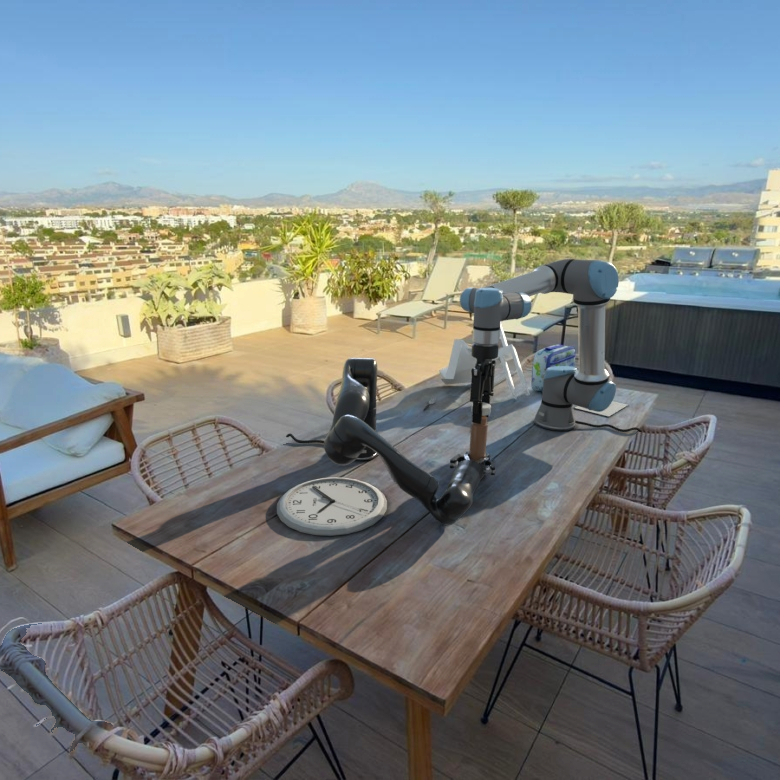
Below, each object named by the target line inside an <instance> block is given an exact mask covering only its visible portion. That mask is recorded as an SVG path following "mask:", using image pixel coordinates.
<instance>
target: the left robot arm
mask: <svg viewBox="0 0 780 780" xmlns="http://www.w3.org/2000/svg"><path fill="white" fill-rule="evenodd" d="M378 369H379V368H378V362H377V360H376V359H375V358H371V357H370V358H369V357H350V358H347V359H346V360H345V362H344V363H343V366H342V373H341V384H340V387H339V390H338V394H337V396H336V401H335V406H334V412H333V416H332V420H331V425H330V428H329V430H328V432H327V435H326V436H325V438H324V440H323V439H310V440H309V439H308V440H307V439H305V440H303V439H298V438H296V437H295V436H294V435H293V433H287V434H286V436H285V437H286V438H291V439H292V440H293V441H294V442H296V443H298V444H315V443H316V444H317V443H318V444H323V449H324V453H325V454H326V456H327V458H329V460H330V461H331V462H332V463H334V464H336V465H339V466H348V465H351V464H353V463H354V462H355V461H358V462H365V461H371V460H373V459H375V458H376V457H377V455H378V457H380V459H381V461H382V462H383V464H384V466H385V468H386V470H387V472H388V474H389V476H390V478H391V480H392V481H393V483H394V484H395V485H396V486H397V488H399V490H401V491H403V492H405V493H406V494H408V495H409V496H411V497H412V498H414V499H415V500H417V501H418V502H419V503H420V504H421V505H422V506H423V507H424V508H425V509H426V510H427V511H428V512H429V514H430V515H431V516H432V517H433V518H434V519H435V520H436V522H438V523H440V524H441V525H446V526H451V525H454V524H455V523H456V522H457V521H459V519H460V518H462V516H464V515H465V514H466V512H467V511H468V510H469V509H470V508H471V507H472V505H473V502H474V496H473V495H474V493H475V491H476V490H477V489H478V487H479V485H480V482H481V480H482V479H483V478H482V476H483V475H484V476H485V475H486V473H487V474H490V476H496V461H495V459H493V458H491V457H492V456H491V454H490V453H488V452H486V453H485V457H484V459H482V458H481V459H480V460H478V461H474V460H470V459H469V451H470V449H468V450H467V451H465V453H464V454H463V455H462V453H457V454H456V455H454V456H453V457H452V458H451V459H449V469H454V468H456V469H455V470H454V471H453V473H452V475H451V479H450V480H449V482H448V483H447V486H446V490H445V491H444V492H443V493H442V495H441V496H439V498H438V497H437V496H436V493H437V492H438V488H439V481H438V479H437V478H436V477H434V476H433V474H432V475H431V474H430V473H429V472H427V471H425V470H424V469H423V468H421V467H419V466H418V465H416V464H415V463H413V462H412V461H411V460H409V459H408V458H407V457H406V456H405V455H403V454H402V452H399V450H398V449H397V448H395V447H394V446H393V445H392V444H391V443H390V442H388V441H387V440H386V439H385V438H384V437H383V436H382V435H381V434H379V433H378V432H377V386H378ZM481 478H482V479H481Z"/></svg>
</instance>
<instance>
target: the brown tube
mask: <svg viewBox="0 0 780 780" xmlns="http://www.w3.org/2000/svg"><path fill="white" fill-rule="evenodd" d="M487 420H488V418H487V417H486V416H482V422H481V424H477V423H473V422H472V421H471V423H470V438H469V450H470V451H469V450H468V451H469V459H470V460H474V461H478V460H480V459H481V458H482V459H484V457H485V455H486V453H487V451H486V450H487V441H488V440H487V439H488V426H489V423H488V422H487ZM484 477H485V474H484V475H483V476H482V478H481V480H482V479H483V478H484Z"/></svg>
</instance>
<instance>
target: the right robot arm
mask: <svg viewBox="0 0 780 780" xmlns="http://www.w3.org/2000/svg"><path fill="white" fill-rule="evenodd" d="M619 281H620V278H619V272H618V270H617V268H616V266H615V265H613V263H611V262H610V261H607V260H606V261H605V260H601V259H579V258H564V259H559V260H556V261H552V262H548V263H545V264H543V265H539V266H537V267H536V268H534V270H533V271H531V272H527V273H524V274H521V275H518V276H515V277H512V278H508V279H505V280H502V281H499V282H496V283H493V284H490V285H486V286H483V287H479V288H477V287H467V288H465V289H464V290H463V291H462V293H461V294H460V297H459V300H460V301H459V302H460V303H459V305H460V307H461V308H462V309H463V310H464V311H465V312H467V313H471V314H473V323H472V324H473V325H472V330H471V334H472V344H471V347H472V356H473V357H474V358H476V359H477V362H476V365H475V369H473V368H472V370H471V373H472V380H471V382H470V395H469V402H470V403H472V404H473V411H472V412H471V422H473V423H477V424H481V422H482V407H483V402H484V403H488V404H490V405H491V397H493V396H494V394H495V393H494V389H495V388H494V387H495V386H494V385H495V371H496V369H495V363H496V360H492V359H495V358H497V357H498V349H500V348H499V347H500V346H499V344H500V322H501V323H502V322H503V321H512V320H520V319H523V318H525V317H528V315H529V314H530V312H531V310H532V300H531V298H530V297H532V296H536V295H538V294H542V295H543V294H544V295H547V294H550V293H561V294H568V295H572V303H573V304H574V305H575V306H576V307H577V319H578V320H577V327H578V328H577V331H578V333H577V335H578V337H577V338H578V339H577V340H578V345H577V346H578V368H577V367H576V366H574V367H571V366H554V367H549V368H547V369H546V371H545V375H544V378H543V379H544V382H543V391H541V393H542V394H541V402H540V405H539V407H538V410H537V411H536V413H535V417H534V424H535V425H536V426H537V427H539V428H542V429H544V430H549V431H556V432H567V431H572V430H574V429H575V428H576V424H578V425H582V426H588V427H591V428H605V427H607V428H611V429H613V430H615V431H618V432H621V433H628V432H631V431H637V432H639V433H643V430H642V429H641V428H639V427H637V426H634V427H633V426H632V427H630V428H625V429H622V428H619V427H617V426H614V425H612V424H610V423H609V424H608V423H601V424H593V423H589V422H585V421H579V420H576V418H575V417H576V416H575V413H574V407H573V406H580V407H583V408H586V409H589V410H593V411H597V412H601V411H604V410H605V409H606V408H608V407H609V405H610V404H611V402H612V401H614V398H615V396H616V392H617V386H616V385H617V384H615V383H614V382H613V381H611V380H610V373H609V371H608V370H607V369H606V368H605V363H606V361H605V359H606V358H605V356H606V355H605V354H606V353H605V352H606V306H607V305H608V304H609V302H611V298H613V297H614V296H615V294H616V293H617V290H618V287H619ZM462 309H461V310H462ZM486 417H487V419H488V418H490V414H489V415H486Z"/></svg>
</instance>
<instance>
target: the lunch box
mask: <svg viewBox="0 0 780 780" xmlns="http://www.w3.org/2000/svg"><path fill="white" fill-rule="evenodd" d="M576 357H577V355H576V347H575V346H569V345H565V344H554V345H550V346H547V347H544V348H542V349H541V348H540V349H539V350H537V351H536V352H535V353H534V356H533V360H532V367H531V368H532V369H531V382H530V383H531V386H530V387H531V389H532V390H533V391H537V392H542V391H543V382H544V379H543V378H544V375H545V371H546V369H547V368H549V367H554V366H571V367H575V364H576Z"/></svg>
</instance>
